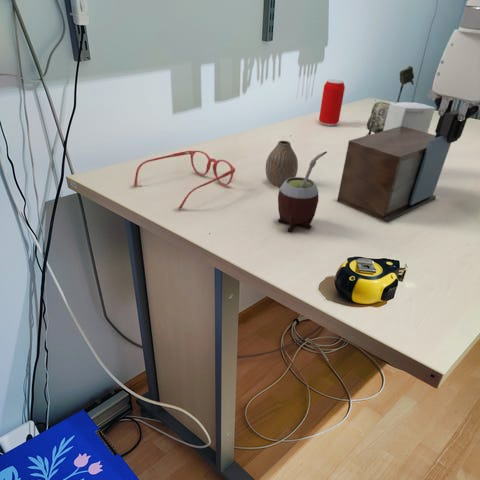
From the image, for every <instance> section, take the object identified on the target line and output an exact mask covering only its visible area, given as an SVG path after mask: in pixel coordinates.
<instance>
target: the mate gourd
mask: <svg viewBox="0 0 480 480" xmlns="http://www.w3.org/2000/svg"><path fill="white" fill-rule="evenodd" d="M326 154H328V151H327V150H325V151H323V152H321V153H319V154H317V155H316V156H315V157H313V158H312V159H311V161H310V163H309V167H308V168H307V172H306V174H305V177H300V176H296V177H293V178H289V179H287V180H286V181H285V182H284V183H283V184H282V186H281V187H279V191H278V194H277V209H278V215H279V218H278V219H277V222H278V223H279V224H284V225H287V226H288V225H289V227H288V228H287V232H288V233H293V232H294V230H295V228H301V229H306V230H311V229H312V225H311V224H312V222H313V220H314V217H315V215H316V213H317V212H316V211H317V208H318V204H319V190H318V187H317V184H316V183H315V182H314V181H313V180H312V179H309V177H310V175H311V173H312V170H313V168H314V167H315V165H316V164H317V161H318V160H319V159H320V158H322V157H323V156H325V155H326Z"/></svg>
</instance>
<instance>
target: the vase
mask: <svg viewBox="0 0 480 480" xmlns="http://www.w3.org/2000/svg"><path fill="white" fill-rule="evenodd" d="M298 171H299V161H298V157H297V155H296V153H295V150H294V149H293V148H292V145H291V141H288V140H279V141H278V142H277V144H276V146H274V148H273V149H272V150H271V151H270V153H269V155H268V156H267V159H266V162H265V176H266V179H267V181H268V182H269V184H271V185H272V186H274V187H278V188H280V187H281V186H282V184H283V183H284V182H285V181H286V180H287V179H289V178H293V177H297V174H298Z"/></svg>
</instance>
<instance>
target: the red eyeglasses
mask: <svg viewBox="0 0 480 480" xmlns="http://www.w3.org/2000/svg"><path fill="white" fill-rule="evenodd" d="M196 153H201V154H203V155H205V157H206V158H207V164H206V170H205V172H204V173H200V172H199V171H198V170H197V169H196V167H195V164H194V156H195V154H196ZM187 155H190V162H191V167H192V169H193V171H194V172H195V173H196V174H197V175H199V176H206V175H207V174H208V173H209V171H210V169H211V165H212V171H213V175H214V177H215V178H213V179H211V180H209V181H206V182H204V183H202V184H199V185H197V186H196V187H194V188H193V189H191V190H190V191H188V193H187V194H186V196H185V197H184V198H183V200H182V201H181V204H180V205H179V207H178V210H181V209H182V208H183V207H184V205H185V203H186V201H187V199H188V198H189V196H190V195H192V193H193V192H194V191H196V190H197V189H200V188H202V187H205V186H207V185H209V184H212V183H214V182H218V183H219V184H220V185H222V186H228V185H229V184H231V182H232V180H233V177H234V173H235V172H236V168H235V167H234V166H233V165H232V164H231V163H230V162H229V161H227V160H225V159H218V160H216V159H215V158H211V157H210V156H209V155H208V153H206V152H205V151H202V150H185V151H180V152H175V153H173V154H168V155H164V156H159V157H155V158H151V159H147V160H145V161H143V162H141V163H140V164H139V165H138V167H137V168H136V170H135V175H134V181H133V186H134V187H137V186H138V175H139V172H140V169H141V167H142V166H143V165H145V164H147V163H150V162H153V161H158V160H163V159H169V158H173V157H174V158H175V157H180V156H187ZM220 162H223V163H226V164H227V165H228V167H229V168H230V170H228V171H226V172H224V173H222V174H221V175H219V176H218V173H217V168H218V167H217V166H218V164H219V163H220ZM212 163H213V164H212ZM229 175H230V176H229ZM228 176H229V177H230V178H229V180H228V182H227V183H222V182H221V180H220V179H223V178H226V177H228Z"/></svg>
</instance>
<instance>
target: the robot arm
mask: <svg viewBox="0 0 480 480" xmlns="http://www.w3.org/2000/svg"><path fill="white" fill-rule="evenodd" d="M458 25H459V26H458V28H456V29H454V30H453V32H452V34H451V36H450V38H449V39H448V41H447V44H446V47H445V48H444V51H443V54H442V56H441V58H440V61H439V64H438V65H437V66H438V67H437V70H436V72H435V74H434V75H435V76H434V79H433V82H432V86H431V87H430V89H429V90H428V92H427V94H426V97H427V98H428V99H429V100H430V101H432V102H433V103H434V104H435V106H436V108H437V114H438V116H439V118H438V122H437V124H436V127H435V135H436V136H435V138H437V137H440V135H439V132H440V129H441V126H442V123H443V120H444V117H445V114H446V113H447V112H450V111H453V108H454V106H455V101H456V100H458V101H462V104H461V106H460V109H459V111H460V112H459V114H458V116H457V119H456V120H454V121H453V123H452V126H451V129H450V132H449V135H448V138H447V143H451V144H453V143H455V142H457V141H458V140H459V139H460V138H461V137H462V134H463V132H464V129H465V126H466V123H467V120H469V119H471V117H473V116H474V115H476V114H478V113H480V0H466V2H465V6H464V9H463V12H462V15H461V19H460V22H459V24H458Z"/></svg>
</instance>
